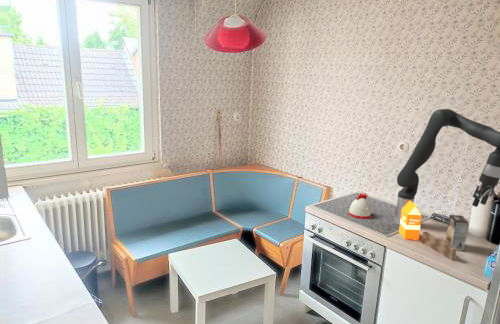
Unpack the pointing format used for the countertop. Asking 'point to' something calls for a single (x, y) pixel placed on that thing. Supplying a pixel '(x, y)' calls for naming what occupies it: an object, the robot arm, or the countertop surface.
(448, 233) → the coffee box
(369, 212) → the kitchen timer
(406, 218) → the orange juice
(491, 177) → the robot arm
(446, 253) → the walnut board
